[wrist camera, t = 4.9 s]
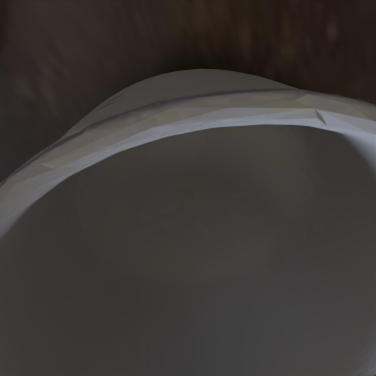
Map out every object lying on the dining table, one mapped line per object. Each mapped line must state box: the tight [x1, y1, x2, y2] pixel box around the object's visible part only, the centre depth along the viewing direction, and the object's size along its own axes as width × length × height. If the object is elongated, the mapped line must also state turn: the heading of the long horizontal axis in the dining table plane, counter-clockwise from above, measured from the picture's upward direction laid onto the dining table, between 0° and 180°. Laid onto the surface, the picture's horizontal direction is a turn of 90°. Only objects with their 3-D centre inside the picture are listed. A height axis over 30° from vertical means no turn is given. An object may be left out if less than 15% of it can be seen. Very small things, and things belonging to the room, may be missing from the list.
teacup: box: [0, 69, 376, 376], centre depth 9 cm, size 14×11×8 cm
